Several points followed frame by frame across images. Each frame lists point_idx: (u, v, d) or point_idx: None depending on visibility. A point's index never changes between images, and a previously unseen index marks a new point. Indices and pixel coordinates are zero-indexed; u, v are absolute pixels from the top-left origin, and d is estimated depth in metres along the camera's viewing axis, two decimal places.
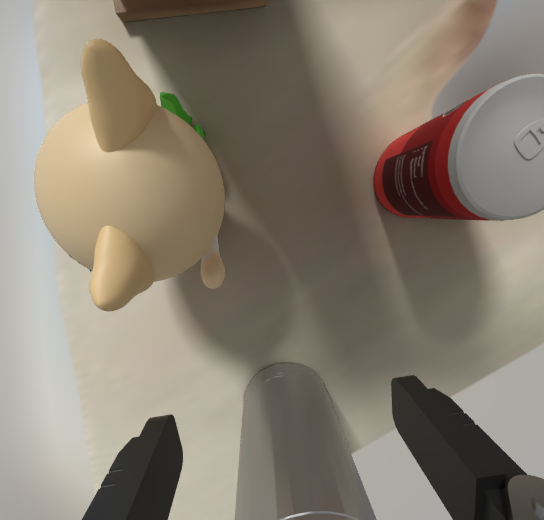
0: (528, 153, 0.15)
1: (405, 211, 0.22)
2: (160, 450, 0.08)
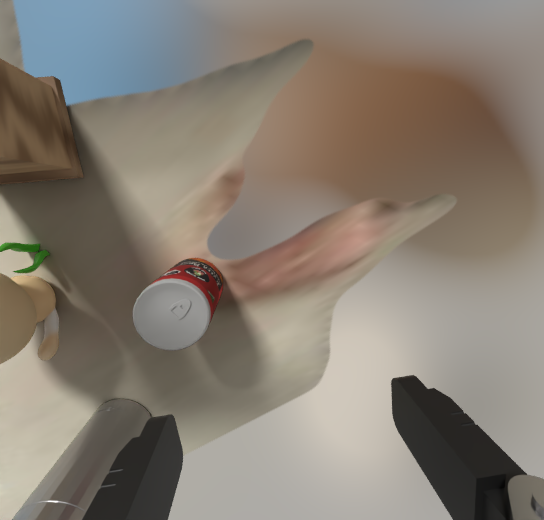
0: (177, 317, 0.27)
1: None
2: (160, 450, 0.08)
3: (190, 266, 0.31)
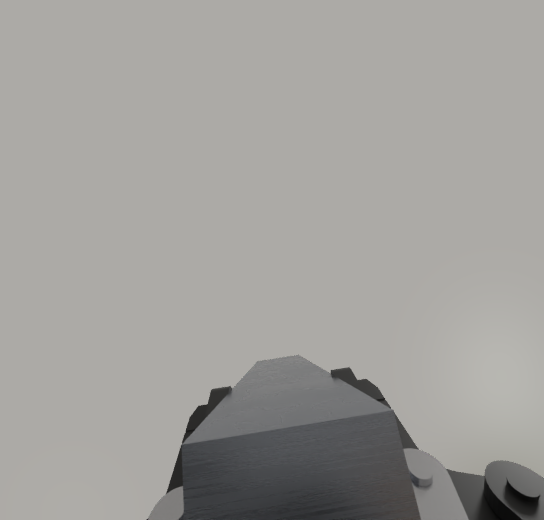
0: None
1: None
2: None
3: None
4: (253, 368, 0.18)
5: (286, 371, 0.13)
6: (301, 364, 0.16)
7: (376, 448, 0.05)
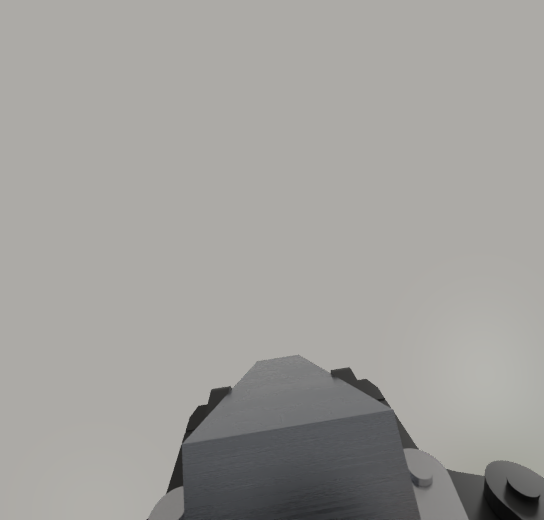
0: None
1: None
2: None
3: None
4: (253, 368, 0.18)
5: (286, 371, 0.13)
6: (301, 364, 0.16)
7: (376, 447, 0.05)
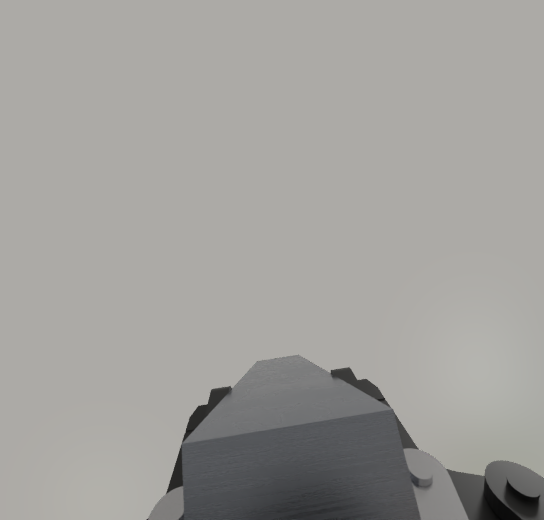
0: None
1: None
2: None
3: None
4: (253, 368, 0.18)
5: (286, 371, 0.13)
6: (301, 364, 0.16)
7: (376, 447, 0.05)
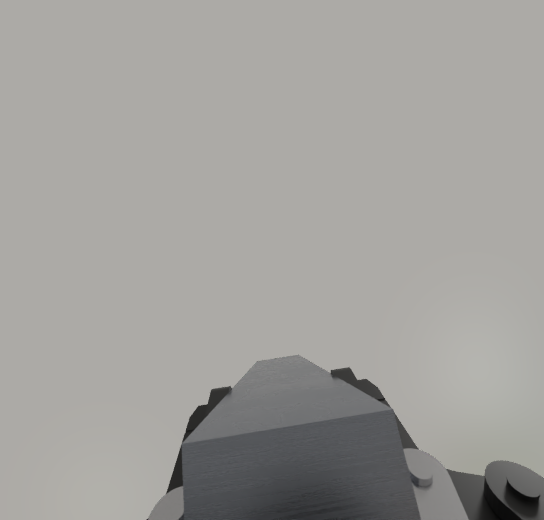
0: None
1: None
2: None
3: None
4: (253, 368, 0.18)
5: (286, 371, 0.13)
6: (301, 364, 0.16)
7: (376, 447, 0.05)
